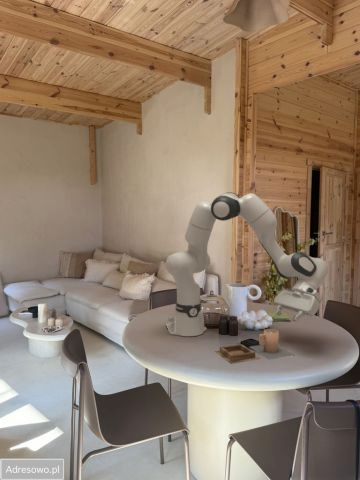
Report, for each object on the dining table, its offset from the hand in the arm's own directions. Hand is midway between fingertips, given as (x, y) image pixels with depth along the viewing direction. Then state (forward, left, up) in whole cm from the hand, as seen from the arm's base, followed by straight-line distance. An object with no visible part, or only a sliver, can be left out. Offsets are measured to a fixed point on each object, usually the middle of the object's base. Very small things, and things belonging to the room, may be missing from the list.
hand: (285, 317), depth 150 cm
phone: (-32, +10, -14) cm, 37 cm away
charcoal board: (+1, -8, -14) cm, 16 cm away
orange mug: (+1, -9, -12) cm, 15 cm away
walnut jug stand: (0, -23, -14) cm, 27 cm away
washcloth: (-42, +24, -15) cm, 50 cm away
